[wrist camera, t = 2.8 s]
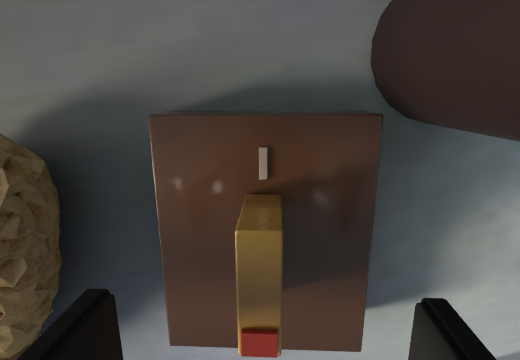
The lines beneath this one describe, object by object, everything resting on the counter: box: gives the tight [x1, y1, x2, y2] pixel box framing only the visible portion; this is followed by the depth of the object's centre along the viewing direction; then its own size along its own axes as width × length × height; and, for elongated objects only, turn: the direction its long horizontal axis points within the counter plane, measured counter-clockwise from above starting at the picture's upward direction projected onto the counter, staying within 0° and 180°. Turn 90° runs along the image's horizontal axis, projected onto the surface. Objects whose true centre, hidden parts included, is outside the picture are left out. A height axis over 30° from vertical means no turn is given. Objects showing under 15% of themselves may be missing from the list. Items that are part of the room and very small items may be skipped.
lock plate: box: [148, 110, 383, 352], centre depth 16 cm, size 12×10×3 cm
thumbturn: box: [235, 194, 283, 357], centre depth 13 cm, size 5×2×4 cm, turn 0°
